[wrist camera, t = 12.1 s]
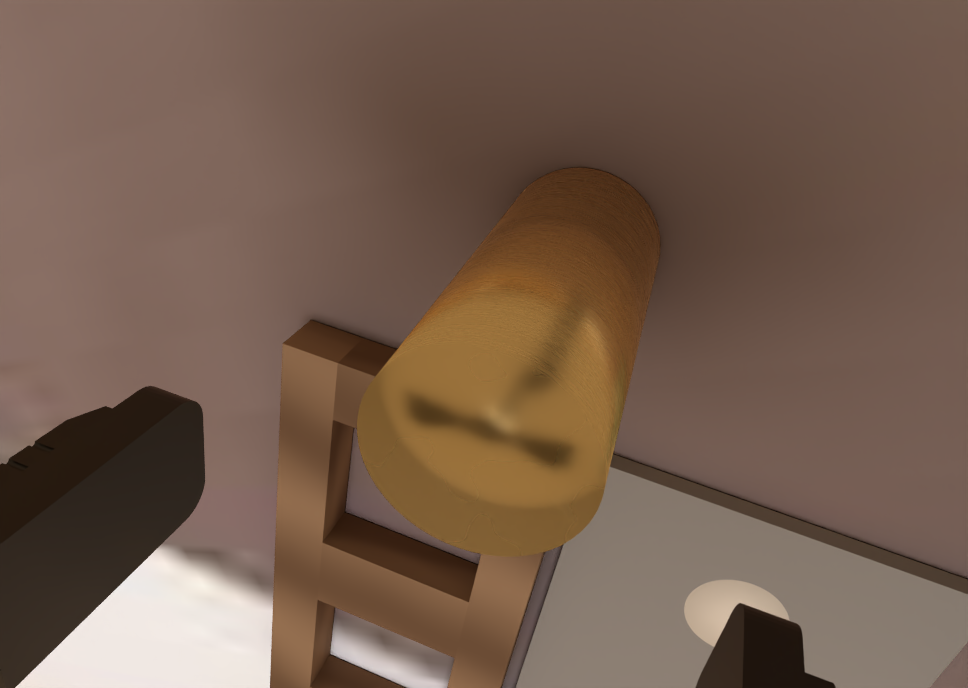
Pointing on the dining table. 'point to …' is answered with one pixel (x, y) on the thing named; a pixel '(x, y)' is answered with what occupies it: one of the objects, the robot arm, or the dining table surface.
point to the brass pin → (519, 372)
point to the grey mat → (732, 593)
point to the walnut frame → (368, 542)
